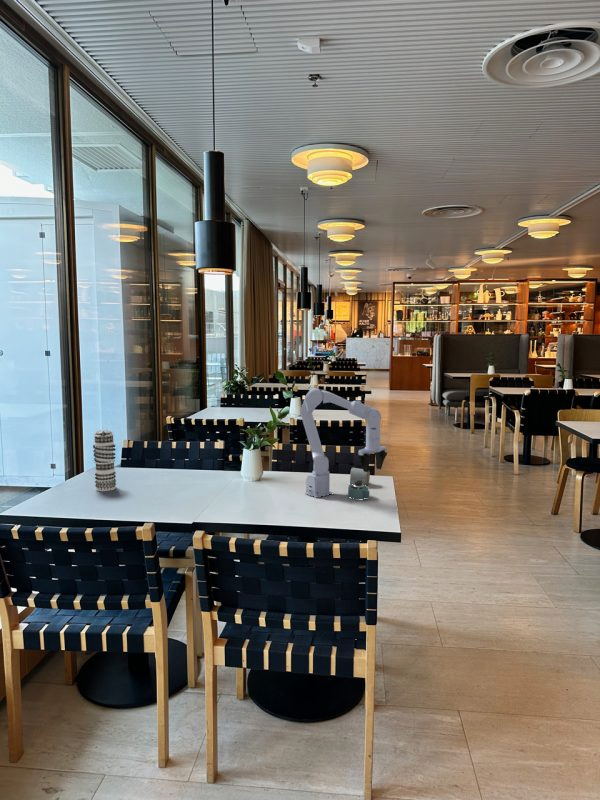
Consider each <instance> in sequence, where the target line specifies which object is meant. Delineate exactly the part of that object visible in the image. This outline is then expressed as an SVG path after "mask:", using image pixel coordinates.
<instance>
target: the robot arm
mask: <svg viewBox="0 0 600 800" xmlns="http://www.w3.org/2000/svg"><path fill="white" fill-rule="evenodd" d="M321 403H323V404H326V403H327V404H328V403H332V404H333V405H334V404H335V405H336V406H338V407H341V408H344V409H347V411H348V412H349V414H350V415H352V416H355V417H357V418H360V419H362V420H366V427H365V430H366V431H365V447H364V448H362V449H359V450H358V455H357V456H358V457H357V458H358V459H359V460H360V463H361V465H362V469H363V471H364V472H368V471H370V470H369V469H370V461H371V458H372V456H371V454H374V456H375V457H374V458H375V468H376V470H382V467H383V464H384V460H385V458H386V456H387V455H388V451H387V450H388V449H387V448H388V447H387V446H384V445H382V446H381V420H382V415H381V412H380V411H379V410H378V409H377V408H376V407H373V406H371V405H366V404H364V403H362V401H361V400H353V401H349V400H348V399H345V398H344V397H341V396H339V395H337V394H335V393H332V392H330V391H327V390H324V389H320V388H318V387H313V388H311V389H309V391H308V392H307V393H306V395H305V397H304V399H303V402H302V405H301V407H300V416H301V419H302V424H303V427H304V430H305V434H306V437H307V441H308V443H309V447H310V450H311V455H312V460H313V465H312V466H313V467H312V468H313V470H312V473H311V474H309V475H308V476H306V480H305V481H306V482H305V485H306V486H305V491H306V492H304V494H305V495H307V494H308V495H307V496H310V495H311V497H313V496H314V497H313V498H316V497H319V498H322V497H321V496H323V497H326V496H325V495H327V496H330V495H329V494H332V493H334V492H332V491H330V484H331V483H330V479H331V477H330V473H331V472H330V471H329V467H330V466H329V463H330V460H329V458H328V457H327V456H326V455H325V452H324V450H323V446H322V444H321V443H322V442H321V440H320V436H319V433H318V429H317V426H316V422H315V419H314V416H313V412H314V411H315V409H316V408H317V406H319V405H320V404H321ZM332 495H333V494H332Z"/></svg>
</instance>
